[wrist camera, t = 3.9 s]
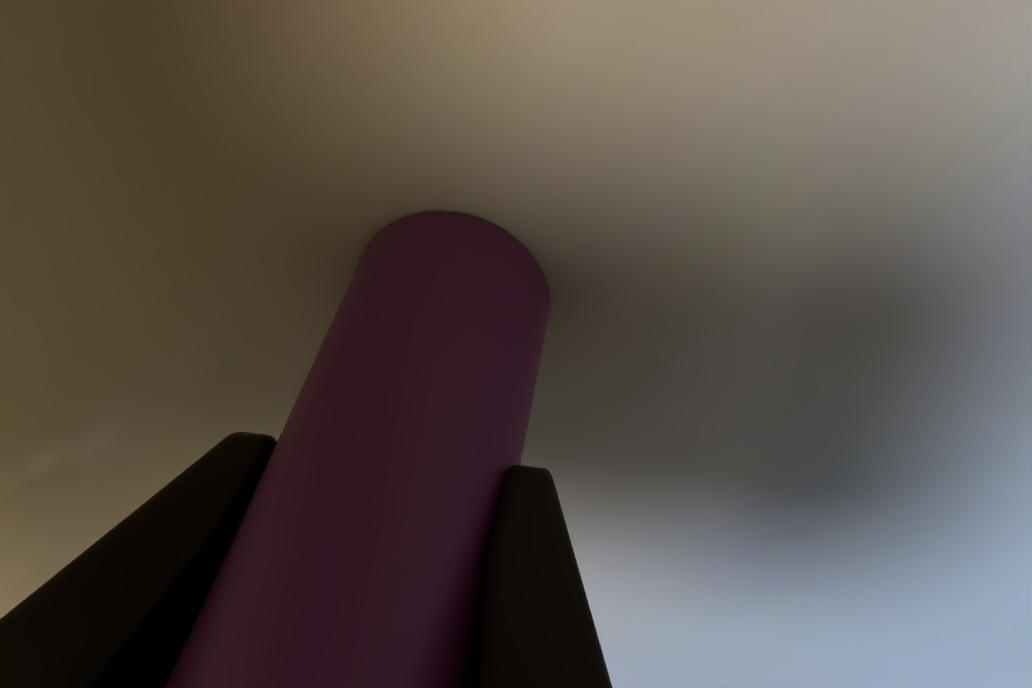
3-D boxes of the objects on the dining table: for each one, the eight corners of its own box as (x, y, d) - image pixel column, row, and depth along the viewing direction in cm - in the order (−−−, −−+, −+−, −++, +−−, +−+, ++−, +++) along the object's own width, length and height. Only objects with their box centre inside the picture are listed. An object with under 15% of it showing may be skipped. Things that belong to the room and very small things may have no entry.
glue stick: (439, 393, 13) (187, 1242, 6) (313, 263, 12) (-143, 1143, 5) (593, 322, 12) (471, 1277, 5) (471, 171, 11) (127, 1157, 4)
